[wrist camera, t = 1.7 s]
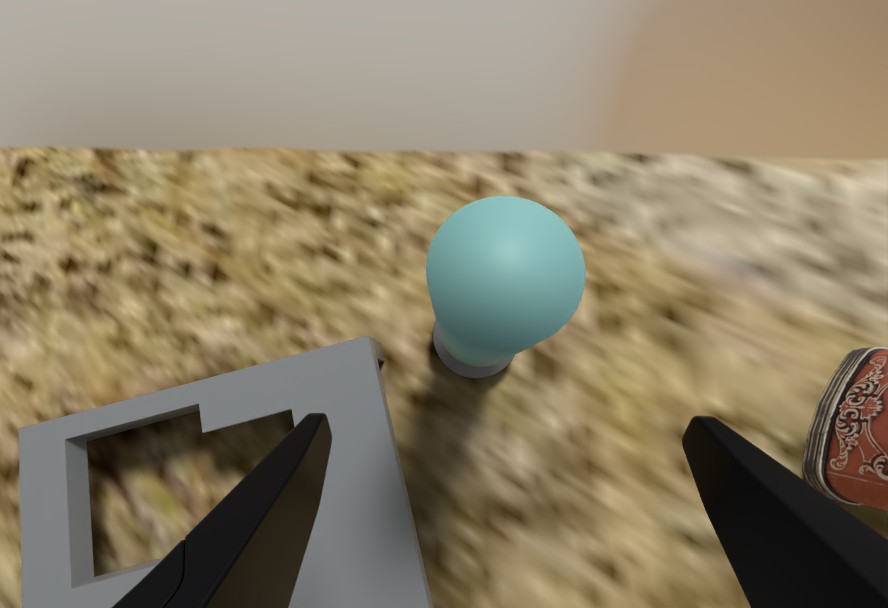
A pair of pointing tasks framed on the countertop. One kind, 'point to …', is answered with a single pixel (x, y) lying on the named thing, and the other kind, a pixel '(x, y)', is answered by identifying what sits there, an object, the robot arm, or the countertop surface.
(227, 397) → the keyhole plate
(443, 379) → the countertop surface
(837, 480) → the lighter
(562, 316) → the peg
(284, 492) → the robot arm
